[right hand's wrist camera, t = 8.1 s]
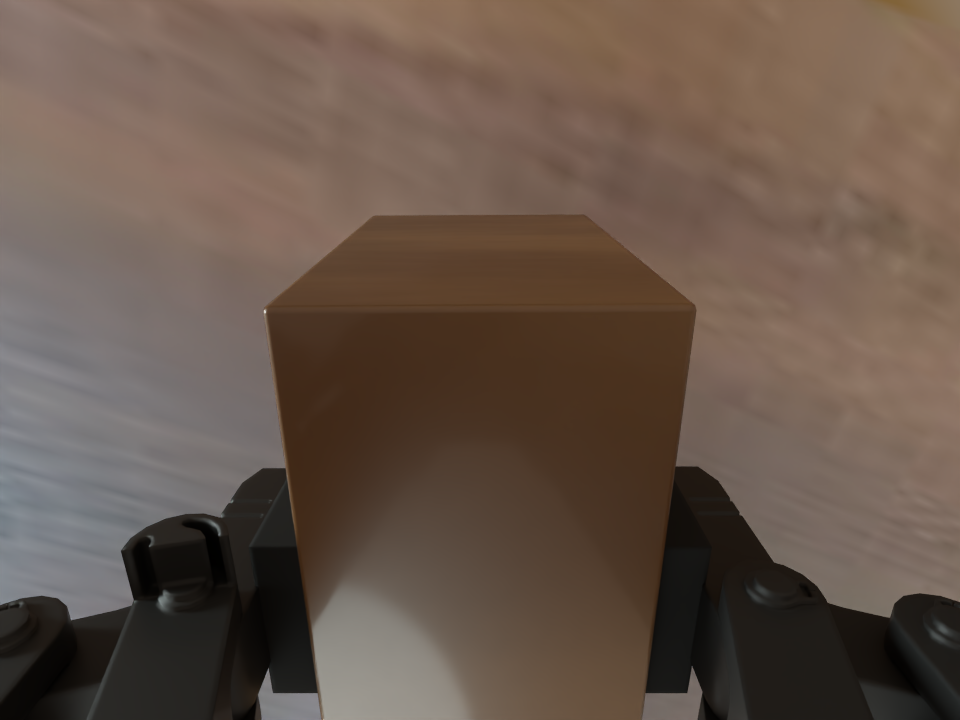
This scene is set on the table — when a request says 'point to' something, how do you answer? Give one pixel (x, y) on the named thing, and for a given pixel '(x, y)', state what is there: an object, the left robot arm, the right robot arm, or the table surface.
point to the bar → (480, 465)
